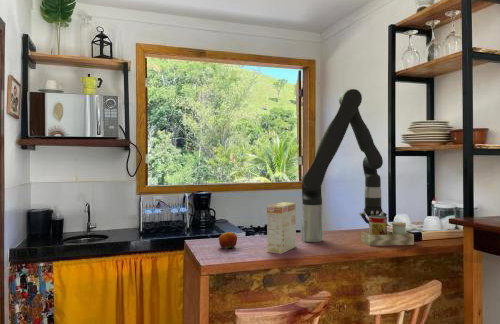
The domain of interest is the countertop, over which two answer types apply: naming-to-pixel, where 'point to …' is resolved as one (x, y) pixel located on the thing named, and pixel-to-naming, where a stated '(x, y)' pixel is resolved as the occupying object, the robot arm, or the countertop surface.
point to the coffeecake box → (281, 227)
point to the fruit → (228, 240)
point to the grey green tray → (388, 239)
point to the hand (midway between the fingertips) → (373, 232)
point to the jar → (399, 228)
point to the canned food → (377, 225)
